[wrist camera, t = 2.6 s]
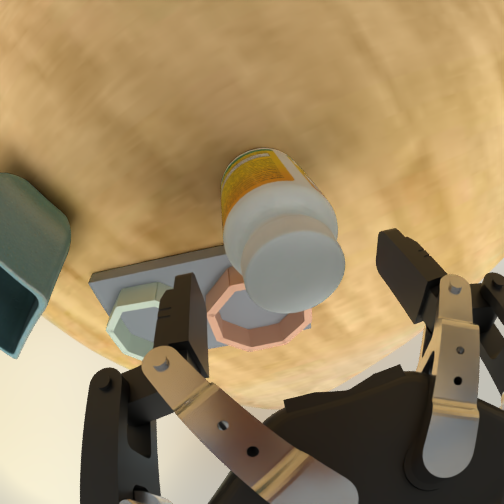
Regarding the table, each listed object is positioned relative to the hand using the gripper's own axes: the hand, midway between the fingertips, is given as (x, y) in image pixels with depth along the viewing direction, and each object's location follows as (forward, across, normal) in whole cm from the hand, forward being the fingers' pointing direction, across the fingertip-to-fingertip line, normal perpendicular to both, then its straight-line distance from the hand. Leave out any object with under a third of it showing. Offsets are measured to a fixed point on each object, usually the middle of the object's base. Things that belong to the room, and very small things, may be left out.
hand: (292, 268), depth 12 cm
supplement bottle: (+9, 0, 0) cm, 9 cm away
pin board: (+9, +6, +8) cm, 14 cm away
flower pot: (+9, +17, -3) cm, 20 cm away
